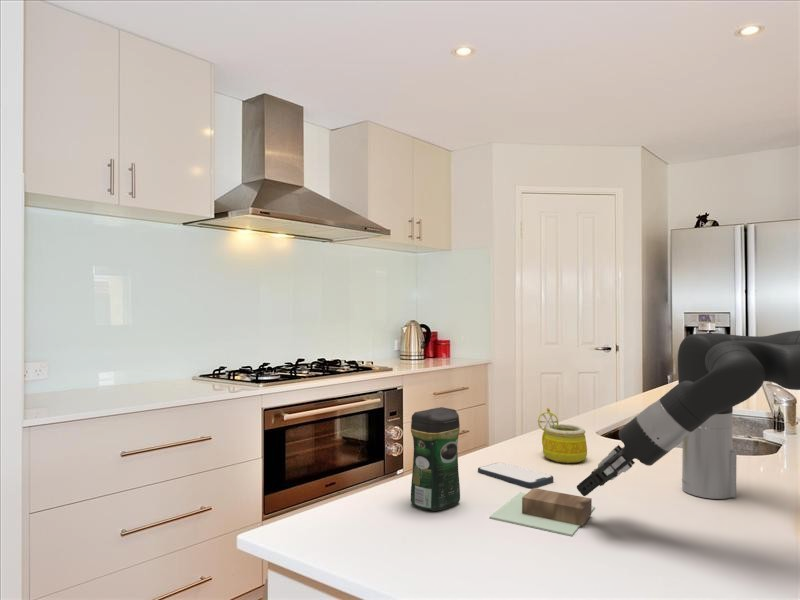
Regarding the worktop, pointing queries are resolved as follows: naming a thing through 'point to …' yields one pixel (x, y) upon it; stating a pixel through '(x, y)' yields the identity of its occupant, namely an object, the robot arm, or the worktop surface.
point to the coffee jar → (435, 459)
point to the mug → (563, 441)
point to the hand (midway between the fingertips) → (581, 490)
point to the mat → (531, 518)
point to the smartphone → (516, 475)
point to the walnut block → (557, 506)
